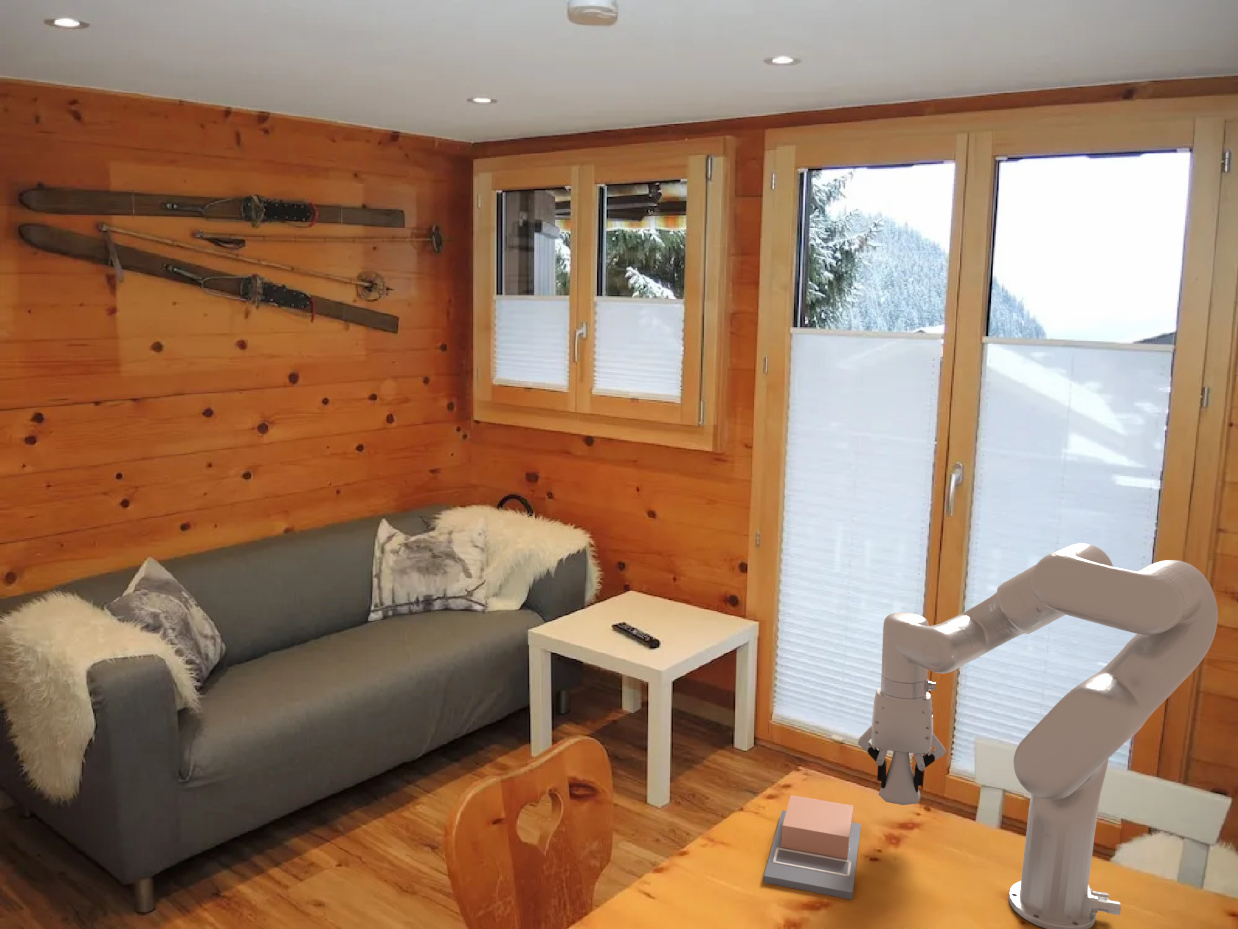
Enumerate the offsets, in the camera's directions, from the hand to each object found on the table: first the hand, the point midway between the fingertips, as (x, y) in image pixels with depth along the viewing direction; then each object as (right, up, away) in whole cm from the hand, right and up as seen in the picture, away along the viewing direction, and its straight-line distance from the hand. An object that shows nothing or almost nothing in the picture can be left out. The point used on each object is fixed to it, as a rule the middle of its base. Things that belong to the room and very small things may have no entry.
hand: (899, 785), depth 176 cm
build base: (-16, -11, -4) cm, 19 cm away
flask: (0, -2, 0) cm, 2 cm away
